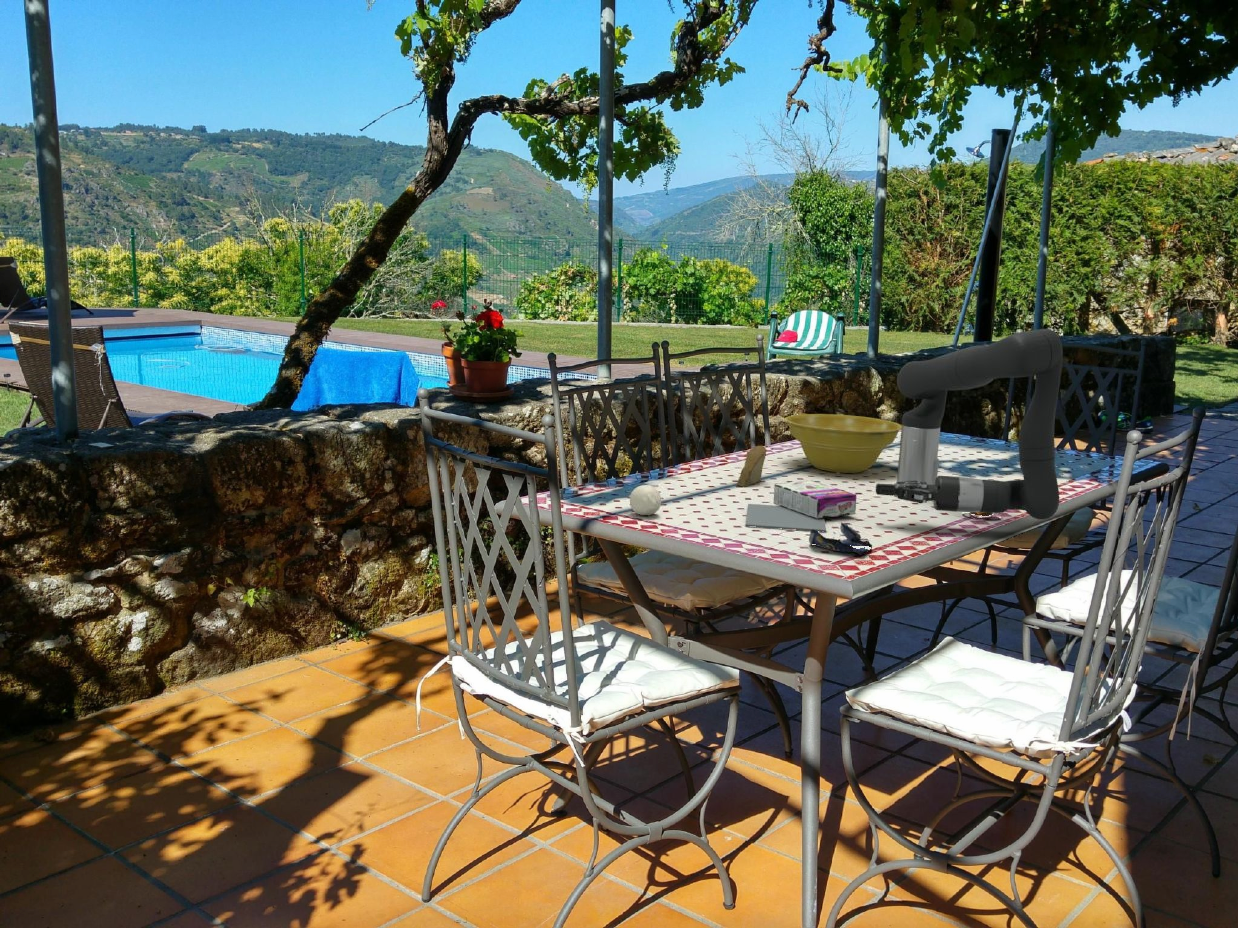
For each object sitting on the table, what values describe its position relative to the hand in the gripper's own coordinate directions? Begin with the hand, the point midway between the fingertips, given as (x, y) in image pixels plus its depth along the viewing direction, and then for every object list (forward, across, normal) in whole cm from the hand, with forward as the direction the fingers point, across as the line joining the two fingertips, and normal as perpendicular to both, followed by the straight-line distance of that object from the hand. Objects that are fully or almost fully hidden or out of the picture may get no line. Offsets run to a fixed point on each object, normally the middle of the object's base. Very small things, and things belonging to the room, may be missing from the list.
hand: (876, 488), depth 225 cm
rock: (+29, -36, +8) cm, 47 cm away
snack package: (+8, +23, +9) cm, 26 cm away
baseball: (+50, +7, +8) cm, 51 cm away
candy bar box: (+8, -2, +5) cm, 10 cm away
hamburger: (-26, -16, +9) cm, 31 cm away
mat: (+19, 0, +8) cm, 21 cm away
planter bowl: (+4, -64, +8) cm, 65 cm away
